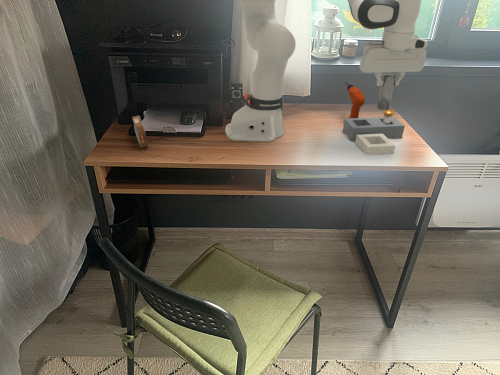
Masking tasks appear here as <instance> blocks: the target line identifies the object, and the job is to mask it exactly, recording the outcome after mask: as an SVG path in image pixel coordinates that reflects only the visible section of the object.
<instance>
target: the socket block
mask: <svg viewBox="0 0 500 375" xmlns="http://www.w3.org/2000/svg"><path fill="white" fill-rule="evenodd" d="M383 118H384V116H378V117H377V116H376V117H358V118H344V120H343V127H342V132H343V133H344V134H345V136H346V137H347V138H348V139H349V140H350V141H351V142H352V141H356V136H357V135H363V134H384V135H385V136H386V137H387V138H388V139H389V140H390V139H391V140H393V139H394V140H395V139H403V135H404V131H405V127H406V125H404V124H403V123H402V122H401V121H399V119H397V118H396V117H395V116H392V118H391V123H390V124H389V125H386V124H384V123H383Z"/></svg>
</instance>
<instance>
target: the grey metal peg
mask: <svg viewBox="0 0 500 375" xmlns="http://www.w3.org/2000/svg"><path fill="white" fill-rule="evenodd" d="M396 77H397V76H396V74H394V73H391V72H384V73H382V76H381V79H382V80H383V81H384V83H383V86H379V87H380V89H379V93H378V99H377V105H376V106H377V107H376V108H377V110H381V111H383V110H389V109H390V110H391V108H390V107H391V102H392V97H393V94H394V93H393V92H394V87H395V86H394V82H395V79H396Z"/></svg>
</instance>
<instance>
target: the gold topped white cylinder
mask: <svg viewBox="0 0 500 375" xmlns="http://www.w3.org/2000/svg"><path fill="white" fill-rule="evenodd" d="M395 112H396V111H395V110H393V109H391V108H390V109H389V110H382V114H383V117H384V118H383V123H384V124H386V125H389V124H390V123H391V118H392V117H394V115H395Z"/></svg>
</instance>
